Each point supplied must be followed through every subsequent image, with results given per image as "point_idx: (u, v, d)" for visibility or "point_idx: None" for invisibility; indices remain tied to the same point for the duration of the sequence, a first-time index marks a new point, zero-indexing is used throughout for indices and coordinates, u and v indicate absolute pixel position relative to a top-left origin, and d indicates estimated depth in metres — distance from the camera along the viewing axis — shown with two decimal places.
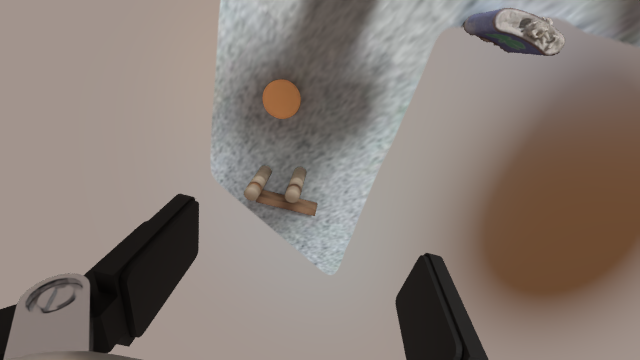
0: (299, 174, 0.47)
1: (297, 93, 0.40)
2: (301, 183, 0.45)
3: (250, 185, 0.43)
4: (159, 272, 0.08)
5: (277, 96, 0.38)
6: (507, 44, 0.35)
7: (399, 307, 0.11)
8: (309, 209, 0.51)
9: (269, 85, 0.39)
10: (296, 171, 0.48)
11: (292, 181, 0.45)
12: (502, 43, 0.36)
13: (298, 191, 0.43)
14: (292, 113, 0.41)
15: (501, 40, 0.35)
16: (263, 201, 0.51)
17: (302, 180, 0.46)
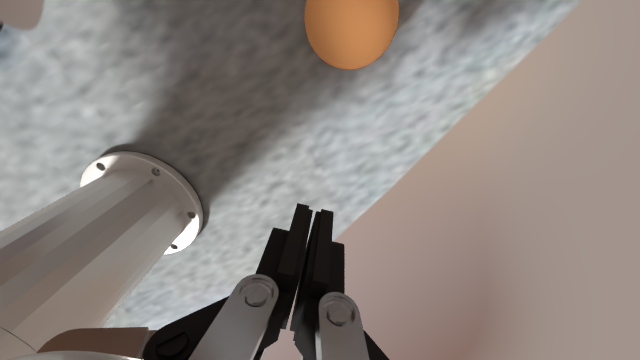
0: None
1: (305, 18, 0.16)
2: None
3: None
4: None
5: (345, 33, 0.15)
6: None
7: (303, 262, 0.12)
8: None
9: (357, 65, 0.17)
10: None
11: None
12: None
13: None
14: None
15: None
16: None
17: None
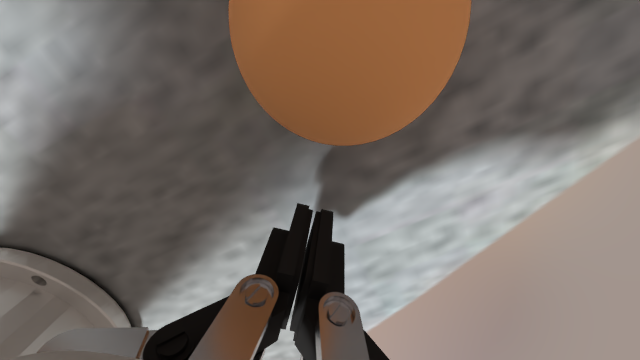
0: None
1: None
2: None
3: None
4: None
5: (327, 83, 0.05)
6: None
7: (303, 262, 0.12)
8: None
9: (363, 142, 0.07)
10: None
11: None
12: None
13: None
14: None
15: None
16: None
17: None
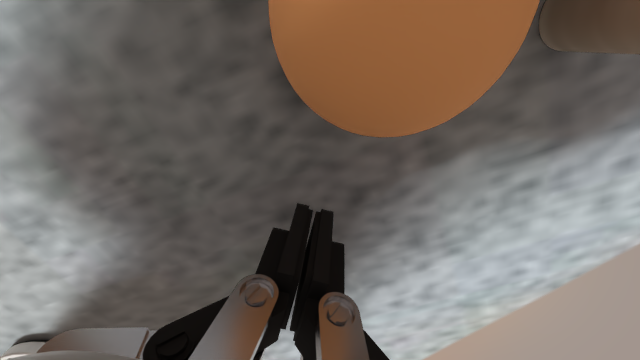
0: None
1: None
2: None
3: None
4: None
5: None
6: None
7: (303, 262, 0.12)
8: None
9: None
10: None
11: None
12: None
13: None
14: None
15: None
16: None
17: None
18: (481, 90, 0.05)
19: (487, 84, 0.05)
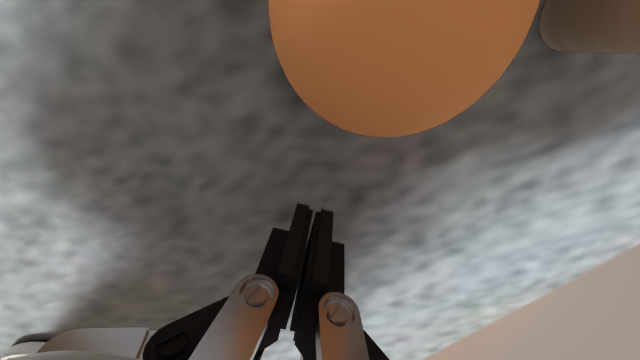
0: None
1: None
2: None
3: None
4: None
5: None
6: None
7: (303, 262, 0.12)
8: None
9: None
10: None
11: None
12: None
13: None
14: None
15: None
16: None
17: None
18: (481, 90, 0.05)
19: (487, 84, 0.05)
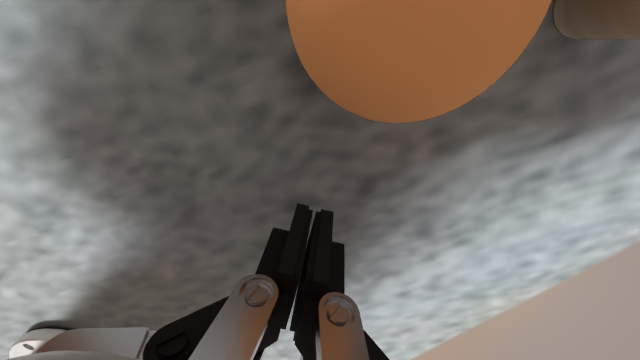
0: None
1: None
2: None
3: None
4: None
5: None
6: None
7: (303, 262, 0.12)
8: None
9: None
10: None
11: None
12: None
13: None
14: None
15: None
16: None
17: None
18: (498, 73, 0.05)
19: (504, 66, 0.05)
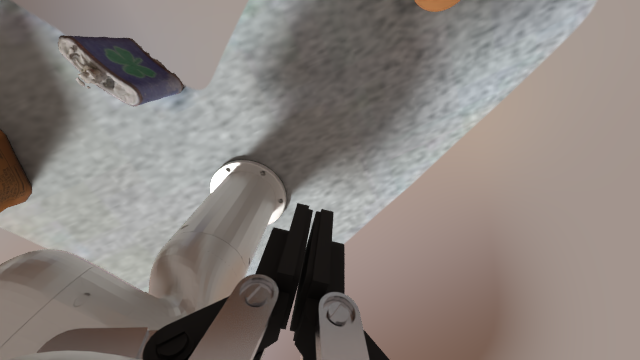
0: None
1: None
2: None
3: None
4: None
5: None
6: (130, 54, 0.32)
7: (303, 262, 0.12)
8: None
9: None
10: None
11: None
12: (137, 56, 0.33)
13: None
14: (414, 0, 0.27)
15: (137, 62, 0.32)
16: None
17: None
18: None
19: None
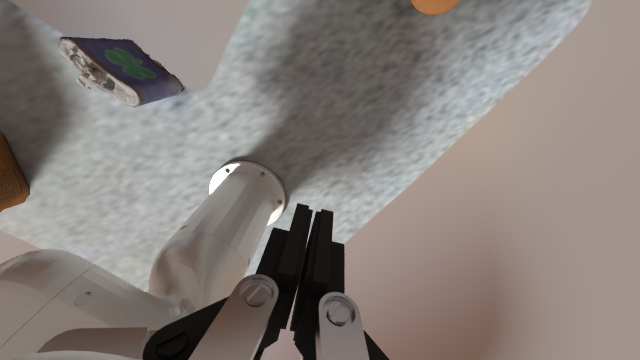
0: None
1: None
2: None
3: None
4: None
5: None
6: (130, 55, 0.32)
7: (303, 262, 0.12)
8: None
9: None
10: None
11: None
12: (137, 57, 0.33)
13: None
14: (412, 3, 0.28)
15: (137, 63, 0.32)
16: None
17: None
18: None
19: None
